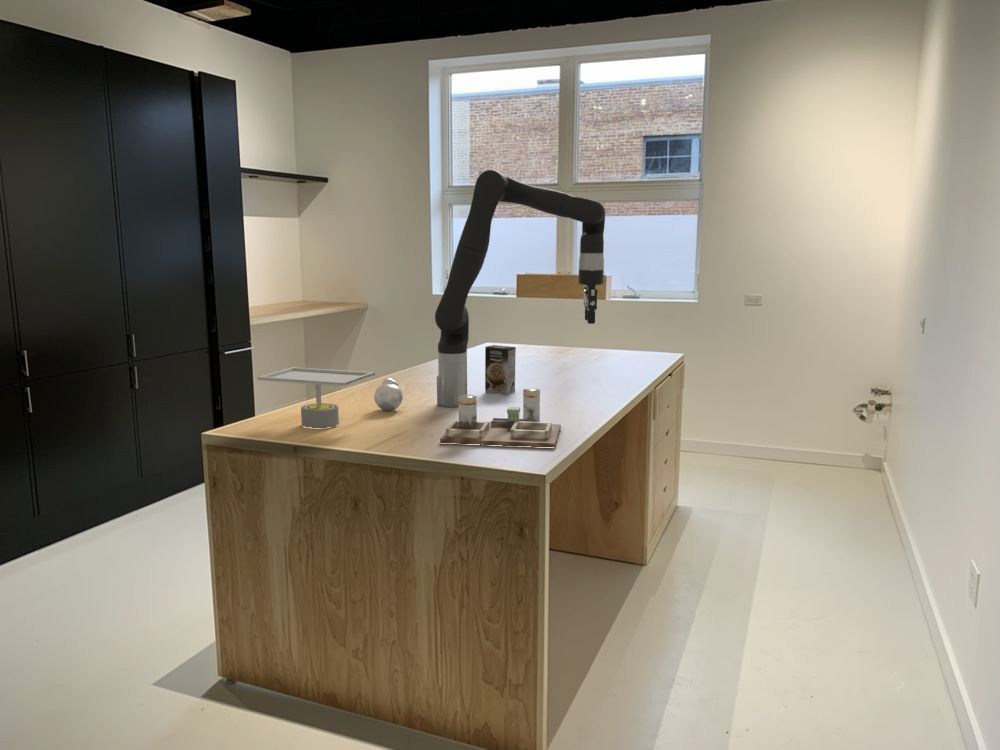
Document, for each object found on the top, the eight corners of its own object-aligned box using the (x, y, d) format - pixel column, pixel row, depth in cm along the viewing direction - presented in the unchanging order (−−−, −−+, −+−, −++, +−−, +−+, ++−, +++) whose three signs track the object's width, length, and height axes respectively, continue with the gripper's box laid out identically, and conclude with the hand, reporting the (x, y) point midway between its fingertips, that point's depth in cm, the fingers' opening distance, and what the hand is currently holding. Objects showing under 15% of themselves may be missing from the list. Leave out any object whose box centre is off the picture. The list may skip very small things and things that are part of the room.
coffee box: (484, 392, 261) (484, 346, 258) (493, 389, 267) (493, 344, 264) (507, 395, 257) (507, 348, 254) (516, 391, 263) (516, 346, 260)
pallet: (440, 444, 196) (439, 431, 195) (456, 425, 215) (456, 413, 214) (554, 449, 191) (554, 435, 190) (560, 429, 210) (560, 417, 210)
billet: (522, 425, 216) (522, 391, 214) (524, 421, 220) (524, 387, 219) (538, 425, 215) (539, 391, 213) (540, 421, 220) (540, 388, 218)
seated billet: (457, 434, 199) (456, 398, 197) (460, 430, 204) (460, 394, 202) (475, 435, 199) (474, 398, 197) (478, 430, 203) (478, 394, 201)
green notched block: (507, 425, 208) (507, 409, 207) (508, 423, 211) (508, 406, 210) (518, 426, 207) (518, 409, 207) (519, 423, 211) (520, 407, 210)
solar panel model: (260, 428, 212) (257, 376, 209) (295, 415, 228) (293, 366, 225) (346, 437, 203) (344, 382, 200) (376, 422, 219) (375, 372, 216)
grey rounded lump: (410, 408, 236) (409, 377, 234) (391, 414, 228) (390, 382, 226) (387, 405, 241) (386, 375, 239) (368, 411, 233) (367, 380, 231)
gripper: (576, 267, 232) (575, 319, 235) (580, 269, 218) (579, 324, 221) (600, 267, 232) (599, 319, 235) (606, 269, 218) (604, 324, 221)
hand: (589, 321), depth 228 cm, fingers open, 8 cm apart
